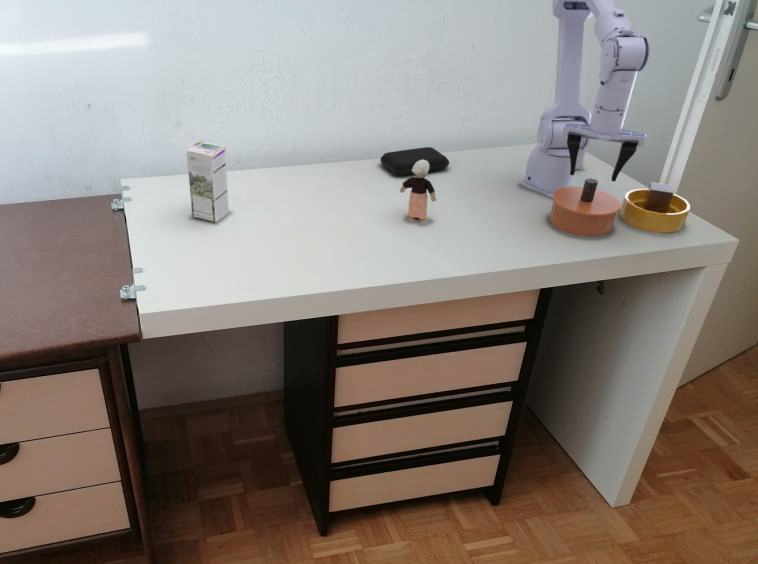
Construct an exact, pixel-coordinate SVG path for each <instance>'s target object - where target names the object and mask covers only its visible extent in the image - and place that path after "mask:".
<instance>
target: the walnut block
mask: <svg viewBox="0 0 758 564" xmlns="http://www.w3.org/2000/svg"><path fill="white" fill-rule="evenodd" d="M647 189H648V192H647V195H646V198H645V201H644V205H643V209H645V210H648V211H653V212H658V213H667V211H668V208H669V205H670V202H671V199H672V196H673V194H674V185H673V184H668V183H662V182H655V181H650V183H649V186H648V188H647Z"/></svg>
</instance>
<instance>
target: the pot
mask: <svg viewBox="0 0 758 564" xmlns="http://www.w3.org/2000/svg"><path fill="white" fill-rule="evenodd" d="M616 216H617V213H615V214H613V215H609V216H601V217H594V216H584V215H579V214H575V213H572V212H569V211H566V210H564V209H562V208H560V207H559V206H557V205H556V204H555V203H554V202H553V201H552V205H551V209H550V213H549V221H550V223H551V225H553V226H554V227H555V228H557V229H558V230H560V231H563V232H564V233H567V234H572V235H576V236H580V237H581V236H582V237H599V236H604V235H607V234H608V233H610V232H612V229H613V226H614V223H615V220H616Z"/></svg>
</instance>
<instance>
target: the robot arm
mask: <svg viewBox="0 0 758 564" xmlns="http://www.w3.org/2000/svg"><path fill="white" fill-rule="evenodd" d="M551 4H552V6H551V7H552V8H551V9H552V15H553V16H554V17H555V18H557V19H558V28H557V29H558V30H557V32H558V33H557V52H556V68H555V69H556V70H555V87H554V89H555V90H554V103H553V105H551V106H550V107H548V108H546V110H544V111H543V112H542V114H541V115H540V118H539V126H538V129H537V134H536V141H537V145H536V146H534V147H533V149H532V150H531V151H530V154H529V156H528V159H527V163H526V167H525V168H526V169H525V173H524V179H523V182H521V185H522V186H525V187H528V188H530V189H532V190H535V191H537V192H540V193H542V194H545V195H547V196H549V197H552V196H553V193H554V192H555V191H556V190H558V189H561V188H565V187H573V186H572V185H571V182H572V178H573V176H574V175H575V172H576V169H575V167H576V161H577V155H578V154H581V151H582V150H584V149H585V148H586V149H587V147H588V146H589V145H590V143H591V140H596V141H597V140H598V141H605V142H611V143H618V144H621V145H620V149H619V153H618V157H617V161H616V163H615V166H614V169H613V170H612V175H611V182H613V183H614V182H616V181H617V178H618V176H619V174H620V172H622V169H623V168H624V167H625V165H626V164H627V162H628V161H629V160H630V159H631V158H632V157H633V156H634V154H636V152H637V148H638V147H639V148H644V145H645V142H646V139H647V133H645V132H644V133H643V132H638V131H634V130H630V129H626V128H623V126H624V123H625V119H626V116H627V113H628V108H629V105H630V101H631V97H632V94H633V90H634V86H635V83H636V79H637V75H638V72H641V71H643V70H644V69H645V67H647V64H648V60H649V57H650V50H651V49H650V48H651V47H650V42H649V39H648V36H646V35H640V34H639V33H638V34H637V33H636V32H635V30H634V28H633V26H632V24H631V22H630V19H629V17H628V15H627V13H626V12H625V11H624V9H621V8H616V4H615V1H614V0H552V3H551ZM592 17H594V19H595V22H594V24H593V32H594V34H595V36H596V38H597V41H598V43H599V46H600V48H601V51H600V60H599V61H600V68H599V73H598V79H599V80H600V81H599V85H598V86H599V87H598V89H597V93H596V98H595V100H594V101H595V102H594V105H593V109H592V113H591V111H590V110H588V109H587V108H586V107H585V106H583V105H582V104H581V101H580V100H581V85H582V84H581V83H582V66H583V49H584V48H583V47H584V33H585V32H584V31H585V23H586V21H587V19H590V18H592ZM590 113H591V115H592V117H591V121H590ZM571 118H572V119H575V120H570V119H571Z"/></svg>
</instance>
